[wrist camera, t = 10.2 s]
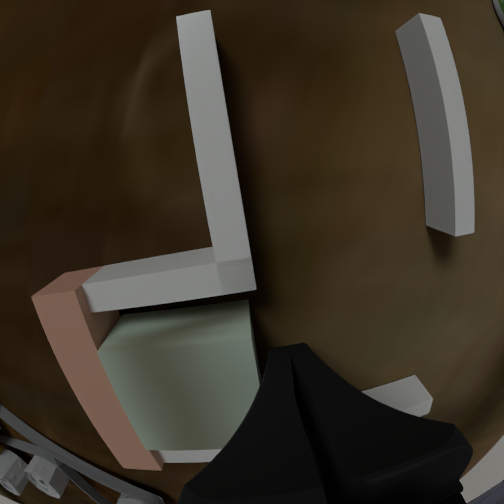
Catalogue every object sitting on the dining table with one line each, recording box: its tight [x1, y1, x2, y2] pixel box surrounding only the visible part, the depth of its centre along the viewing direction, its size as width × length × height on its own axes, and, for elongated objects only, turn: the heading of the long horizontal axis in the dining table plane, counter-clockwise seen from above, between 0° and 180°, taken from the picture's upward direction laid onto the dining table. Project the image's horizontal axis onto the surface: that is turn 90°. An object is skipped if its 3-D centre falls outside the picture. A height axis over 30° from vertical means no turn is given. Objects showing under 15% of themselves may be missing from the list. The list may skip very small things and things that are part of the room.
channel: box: [82, 10, 474, 463], centre depth 10 cm, size 14×16×2 cm
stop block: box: [32, 266, 164, 470], centre depth 11 cm, size 2×9×2 cm, turn 9°
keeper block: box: [97, 299, 261, 451], centre depth 11 cm, size 5×5×3 cm
